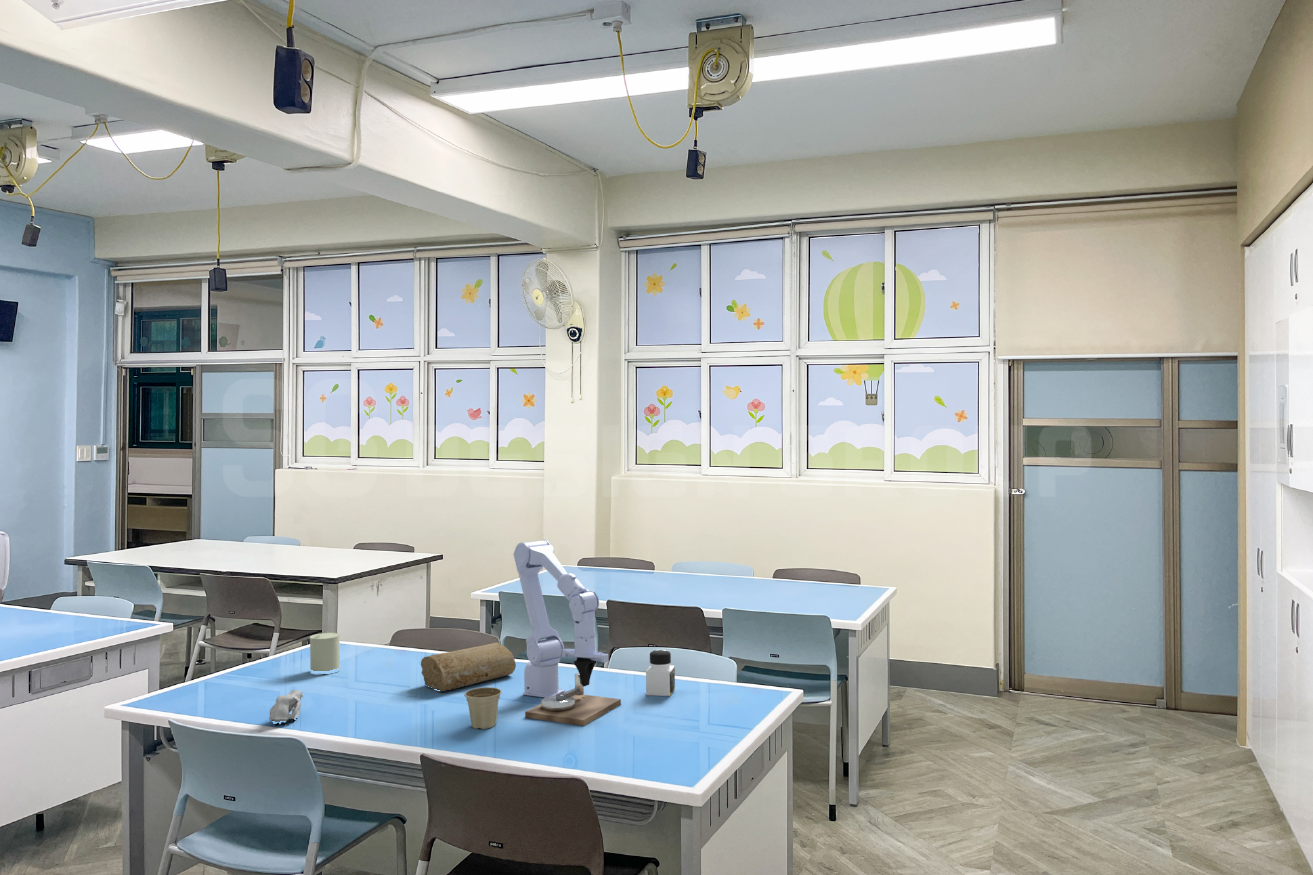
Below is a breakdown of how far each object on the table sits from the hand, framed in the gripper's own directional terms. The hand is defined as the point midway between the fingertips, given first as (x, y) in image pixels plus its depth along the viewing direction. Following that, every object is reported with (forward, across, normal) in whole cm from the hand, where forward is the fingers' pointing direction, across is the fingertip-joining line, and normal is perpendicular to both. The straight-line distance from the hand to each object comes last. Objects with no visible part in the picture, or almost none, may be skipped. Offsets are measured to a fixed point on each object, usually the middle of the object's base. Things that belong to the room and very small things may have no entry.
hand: (585, 685), depth 251 cm
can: (+5, +96, +12) cm, 97 cm away
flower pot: (+6, +12, +27) cm, 30 cm away
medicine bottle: (+6, -11, -21) cm, 24 cm away
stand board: (+6, 0, +6) cm, 8 cm away
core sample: (+6, +47, -2) cm, 47 cm away
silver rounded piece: (+4, +2, +6) cm, 8 cm away
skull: (+6, +61, +50) cm, 79 cm away
